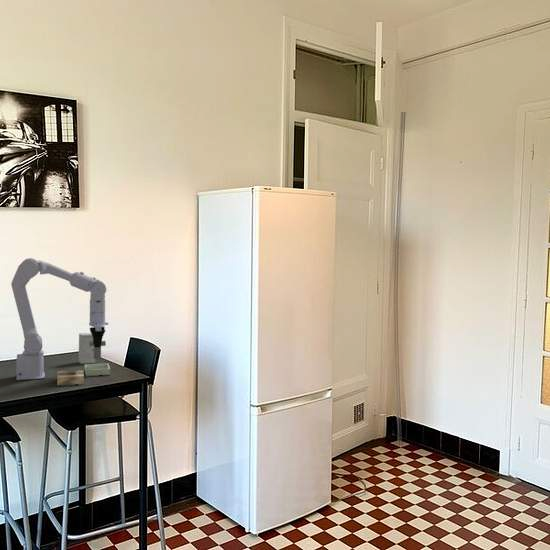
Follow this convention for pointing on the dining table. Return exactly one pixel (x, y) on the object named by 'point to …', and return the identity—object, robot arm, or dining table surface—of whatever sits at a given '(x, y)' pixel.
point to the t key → (97, 349)
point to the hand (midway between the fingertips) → (97, 346)
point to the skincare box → (86, 348)
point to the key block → (70, 377)
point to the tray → (97, 369)
